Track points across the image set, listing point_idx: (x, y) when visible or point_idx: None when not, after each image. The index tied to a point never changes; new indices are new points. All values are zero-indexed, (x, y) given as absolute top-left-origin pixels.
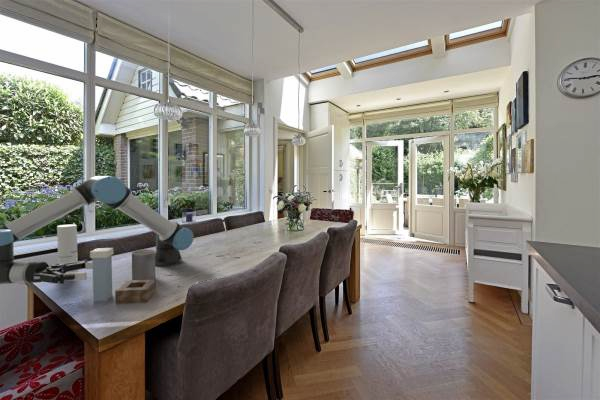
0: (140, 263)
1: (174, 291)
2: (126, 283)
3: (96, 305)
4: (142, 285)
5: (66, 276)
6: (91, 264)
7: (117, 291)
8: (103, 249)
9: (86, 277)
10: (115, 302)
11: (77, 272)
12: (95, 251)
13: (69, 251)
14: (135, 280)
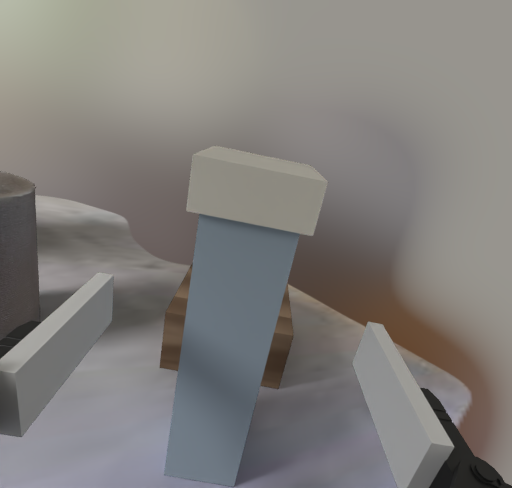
0: (25, 240)
1: None
2: None
3: (254, 465)
4: None
5: (459, 435)
6: (59, 348)
7: (292, 332)
8: (255, 158)
9: (357, 353)
10: (281, 376)
11: (392, 360)
12: (317, 174)
13: None
14: (179, 293)
